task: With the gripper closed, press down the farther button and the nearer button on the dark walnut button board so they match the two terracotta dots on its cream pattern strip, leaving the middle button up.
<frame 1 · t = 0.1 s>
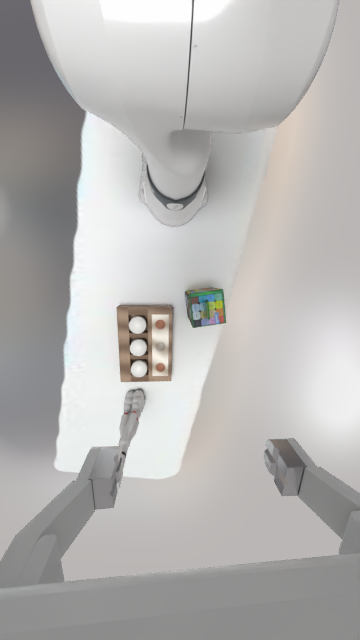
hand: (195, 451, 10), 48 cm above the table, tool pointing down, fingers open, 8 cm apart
rocket model: (136, 395, 63), on the table
middle button: (138, 346, 54), point 4 cm above the table, slide at 0.0 cm
board: (147, 341, 58), on the table
chalk box: (200, 303, 57), on the table
button 1: (139, 367, 56), point 4 cm above the table, slide at 0.0 cm
button 2: (138, 324, 52), point 4 cm above the table, slide at 0.0 cm
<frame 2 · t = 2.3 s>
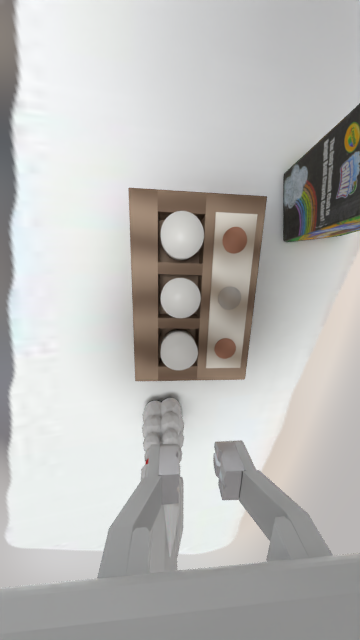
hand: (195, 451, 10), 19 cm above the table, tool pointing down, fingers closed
rocket model: (163, 407, 31), on the table
middle button: (179, 297, 23), point 4 cm above the table, slide at 0.0 cm
board: (191, 294, 27), on the table
chalk box: (311, 205, 26), on the table
button 1: (178, 348, 24), point 4 cm above the table, slide at 0.0 cm
button 2: (181, 238, 21), point 4 cm above the table, slide at 0.0 cm
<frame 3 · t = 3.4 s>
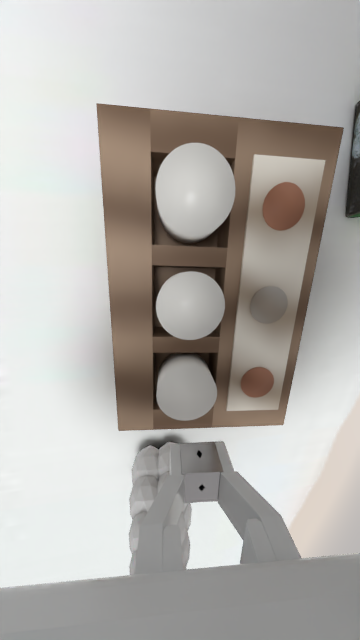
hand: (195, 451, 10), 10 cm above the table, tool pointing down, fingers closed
rocket model: (162, 453, 23), on the table
middle button: (188, 303, 14), point 4 cm above the table, slide at 0.0 cm
board: (203, 297, 18), on the table
button 1: (185, 383, 15), point 4 cm above the table, slide at 0.0 cm
button 2: (192, 201, 12), point 4 cm above the table, slide at 0.0 cm
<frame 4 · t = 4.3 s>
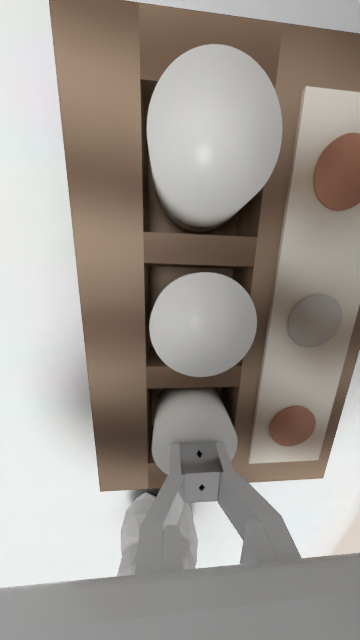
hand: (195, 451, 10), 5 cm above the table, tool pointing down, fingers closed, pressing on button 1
rocket model: (161, 499, 18), on the table
middle button: (198, 320, 9), point 4 cm above the table, slide at 0.0 cm
board: (214, 307, 14), on the table
button 1: (191, 425, 11), point 4 cm above the table, slide at 0.4 cm, touching gripper
button 2: (206, 162, 8), point 4 cm above the table, slide at 0.0 cm
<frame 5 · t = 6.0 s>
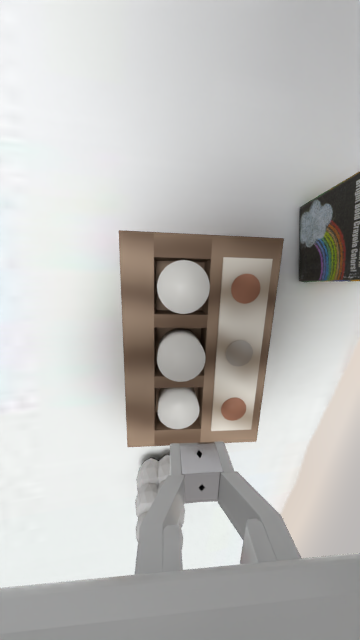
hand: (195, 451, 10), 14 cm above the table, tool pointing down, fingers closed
rocket model: (161, 464, 27), on the table
middle button: (180, 353, 19), point 4 cm above the table, slide at 0.0 cm
board: (193, 340, 23), on the table
chalk box: (331, 241, 22), on the table
button 1: (177, 402, 22), point 3 cm above the table, slide at 1.4 cm
button 2: (182, 287, 18), point 4 cm above the table, slide at 0.0 cm
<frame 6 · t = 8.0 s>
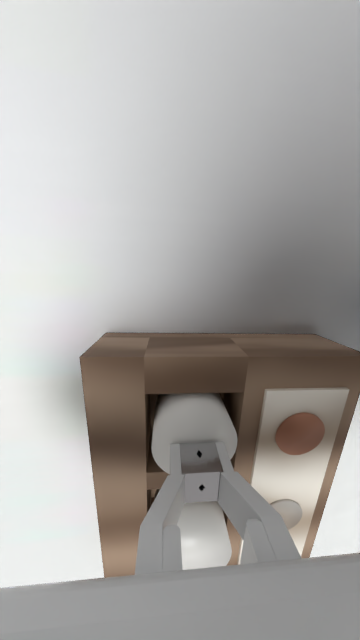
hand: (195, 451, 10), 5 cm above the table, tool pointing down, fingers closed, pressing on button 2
middle button: (188, 523, 12), point 4 cm above the table, slide at 0.0 cm
board: (205, 458, 16), on the table
button 2: (191, 424, 11), point 3 cm above the table, slide at 1.1 cm, touching gripper
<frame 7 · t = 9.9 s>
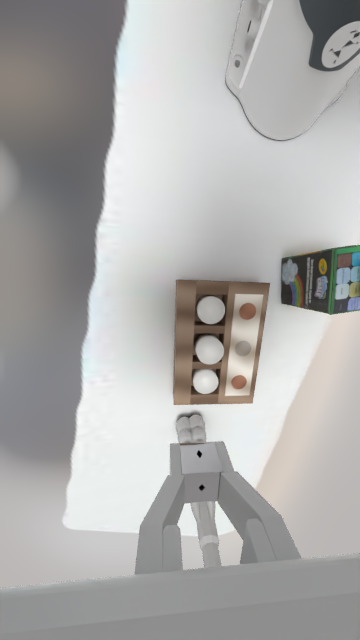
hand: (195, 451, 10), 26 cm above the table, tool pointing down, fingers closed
rocket model: (189, 421, 41), on the table
middle button: (208, 348, 32), point 4 cm above the table, slide at 0.0 cm
board: (213, 340, 37), on the table
chalk box: (302, 278, 35), on the table
button 1: (204, 378, 35), point 3 cm above the table, slide at 1.4 cm
button 2: (209, 309, 32), point 3 cm above the table, slide at 1.5 cm
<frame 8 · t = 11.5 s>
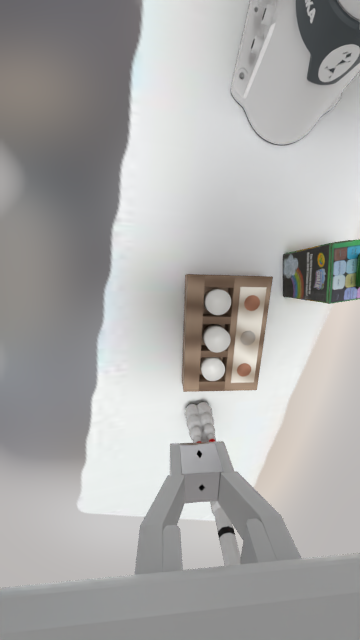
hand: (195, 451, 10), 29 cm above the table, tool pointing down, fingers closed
rocket model: (197, 409, 44), on the table
middle button: (215, 338, 35), point 4 cm above the table, slide at 0.0 cm
board: (219, 331, 39), on the table
chalk box: (302, 273, 38), on the table
button 1: (211, 367, 38), point 3 cm above the table, slide at 1.4 cm
button 2: (216, 301, 35), point 3 cm above the table, slide at 1.5 cm
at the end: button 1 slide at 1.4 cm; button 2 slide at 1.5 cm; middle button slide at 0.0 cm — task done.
